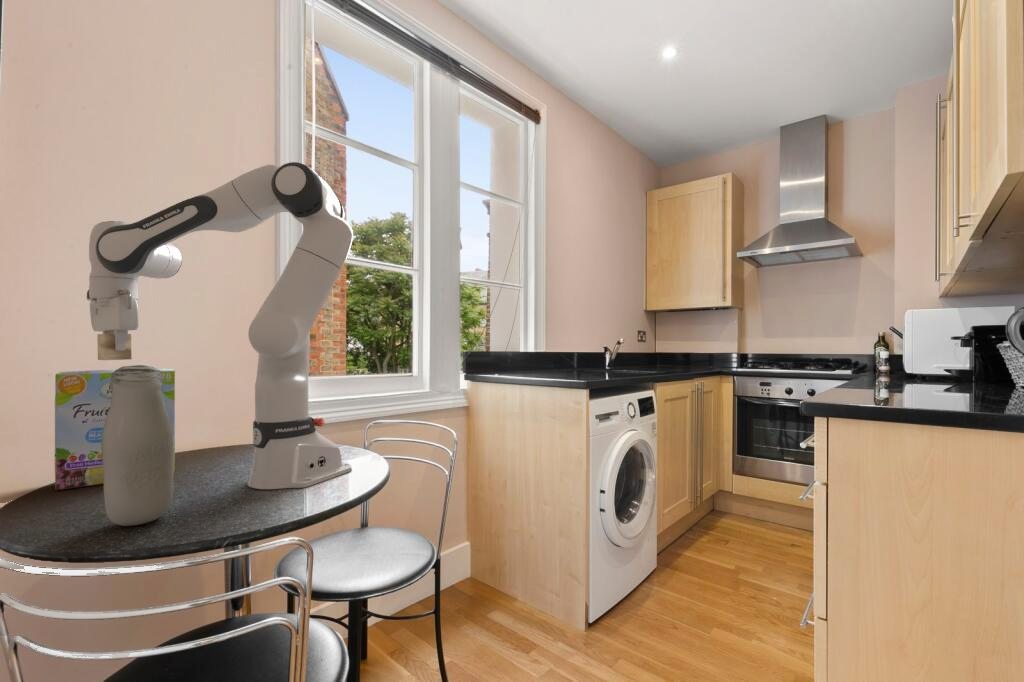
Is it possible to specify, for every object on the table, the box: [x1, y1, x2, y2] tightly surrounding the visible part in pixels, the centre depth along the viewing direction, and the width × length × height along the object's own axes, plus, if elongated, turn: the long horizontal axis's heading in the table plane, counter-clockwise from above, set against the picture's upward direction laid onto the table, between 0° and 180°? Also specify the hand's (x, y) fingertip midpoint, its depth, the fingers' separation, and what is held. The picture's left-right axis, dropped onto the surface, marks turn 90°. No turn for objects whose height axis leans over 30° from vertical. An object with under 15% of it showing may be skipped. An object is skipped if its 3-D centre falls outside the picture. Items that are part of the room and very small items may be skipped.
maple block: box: [96, 333, 133, 361], centre depth 112 cm, size 5×5×6 cm
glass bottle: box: [101, 364, 174, 527], centre depth 84 cm, size 10×10×28 cm
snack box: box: [54, 368, 176, 491], centre depth 112 cm, size 22×9×26 cm, turn 129°
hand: (115, 350), depth 112 cm, fingers closed on maple block, 5 cm apart
